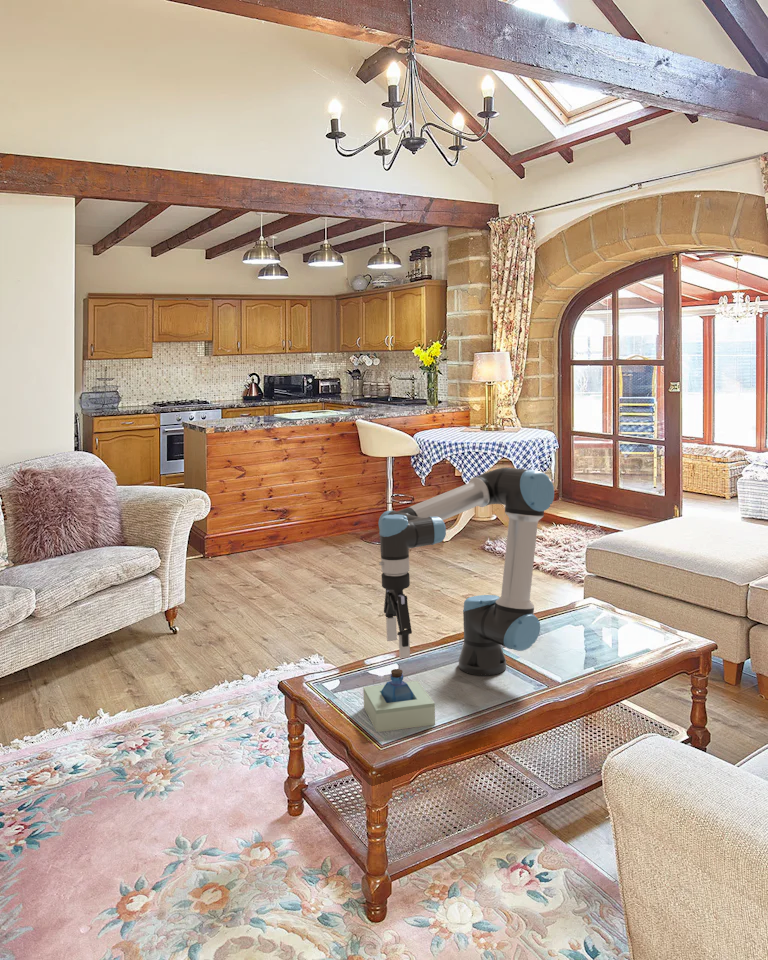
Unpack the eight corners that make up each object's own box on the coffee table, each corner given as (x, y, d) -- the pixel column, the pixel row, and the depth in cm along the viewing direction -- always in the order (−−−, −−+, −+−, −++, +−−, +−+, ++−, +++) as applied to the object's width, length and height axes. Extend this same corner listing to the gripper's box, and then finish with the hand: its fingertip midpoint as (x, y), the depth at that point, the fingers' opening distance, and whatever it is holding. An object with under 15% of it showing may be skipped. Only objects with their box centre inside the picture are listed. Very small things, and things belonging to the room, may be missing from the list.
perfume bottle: (382, 711, 208) (381, 670, 207) (401, 706, 211) (400, 665, 210) (393, 720, 203) (392, 677, 201) (413, 714, 206) (412, 672, 204)
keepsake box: (418, 700, 217) (417, 680, 216) (435, 724, 201) (434, 703, 201) (363, 707, 213) (363, 687, 212) (376, 732, 198) (376, 710, 197)
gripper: (371, 563, 213) (374, 635, 216) (393, 586, 189) (396, 666, 192) (397, 560, 215) (399, 632, 218) (422, 583, 191) (424, 663, 194)
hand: (398, 648), depth 205 cm, fingers open, 13 cm apart
